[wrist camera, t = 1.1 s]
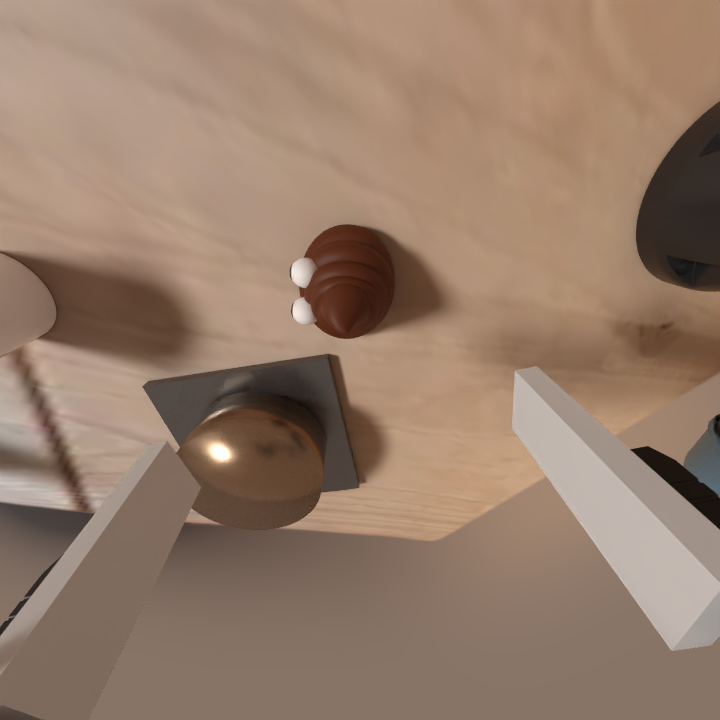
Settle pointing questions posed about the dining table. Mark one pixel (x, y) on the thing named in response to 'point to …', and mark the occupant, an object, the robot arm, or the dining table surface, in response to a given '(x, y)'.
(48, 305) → the candle holder
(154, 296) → the dining table surface
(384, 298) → the poop emoji
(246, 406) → the post stand
